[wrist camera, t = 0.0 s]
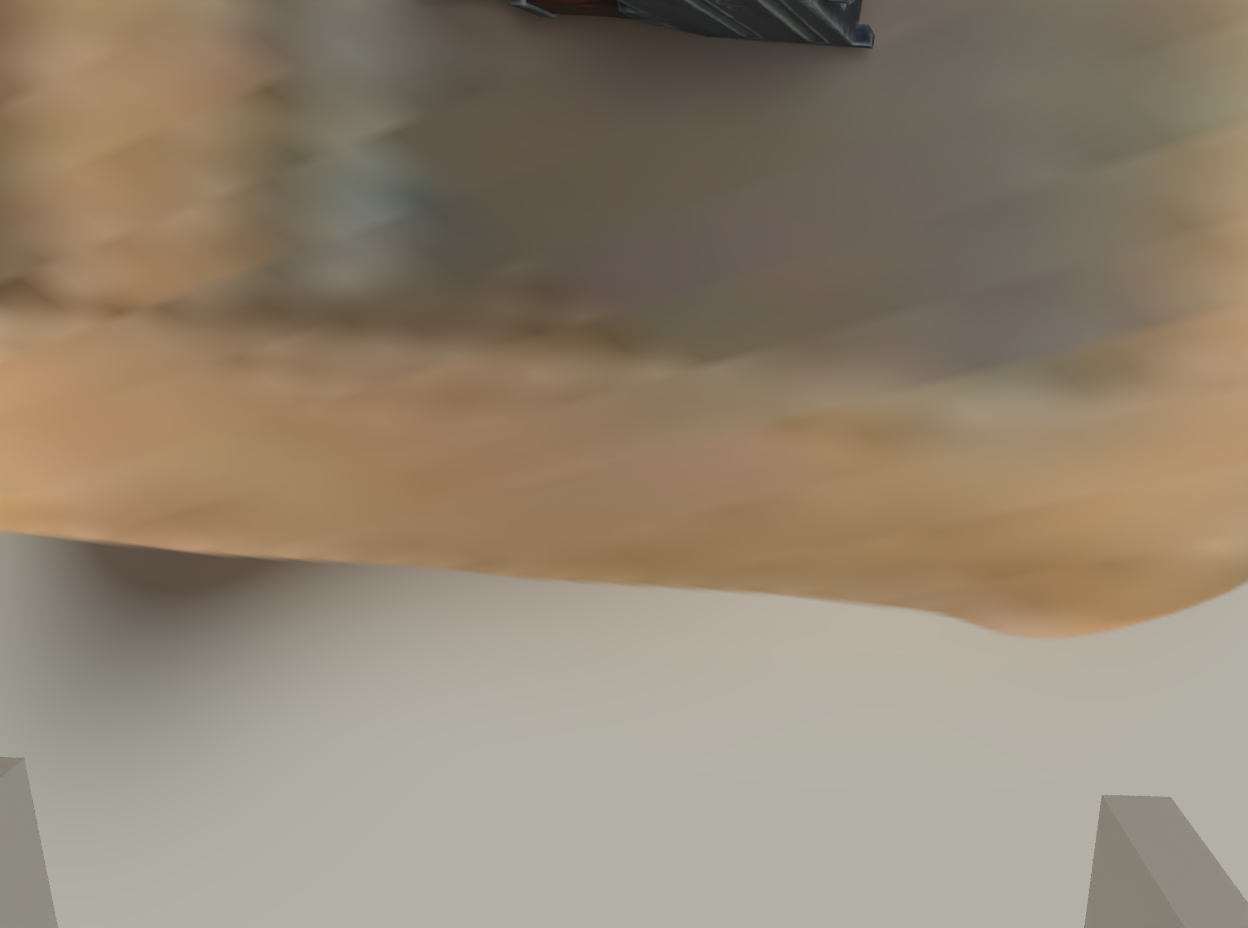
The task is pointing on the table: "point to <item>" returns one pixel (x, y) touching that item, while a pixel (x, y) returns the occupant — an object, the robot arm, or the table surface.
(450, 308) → the table surface
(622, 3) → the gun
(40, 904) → the robot arm
